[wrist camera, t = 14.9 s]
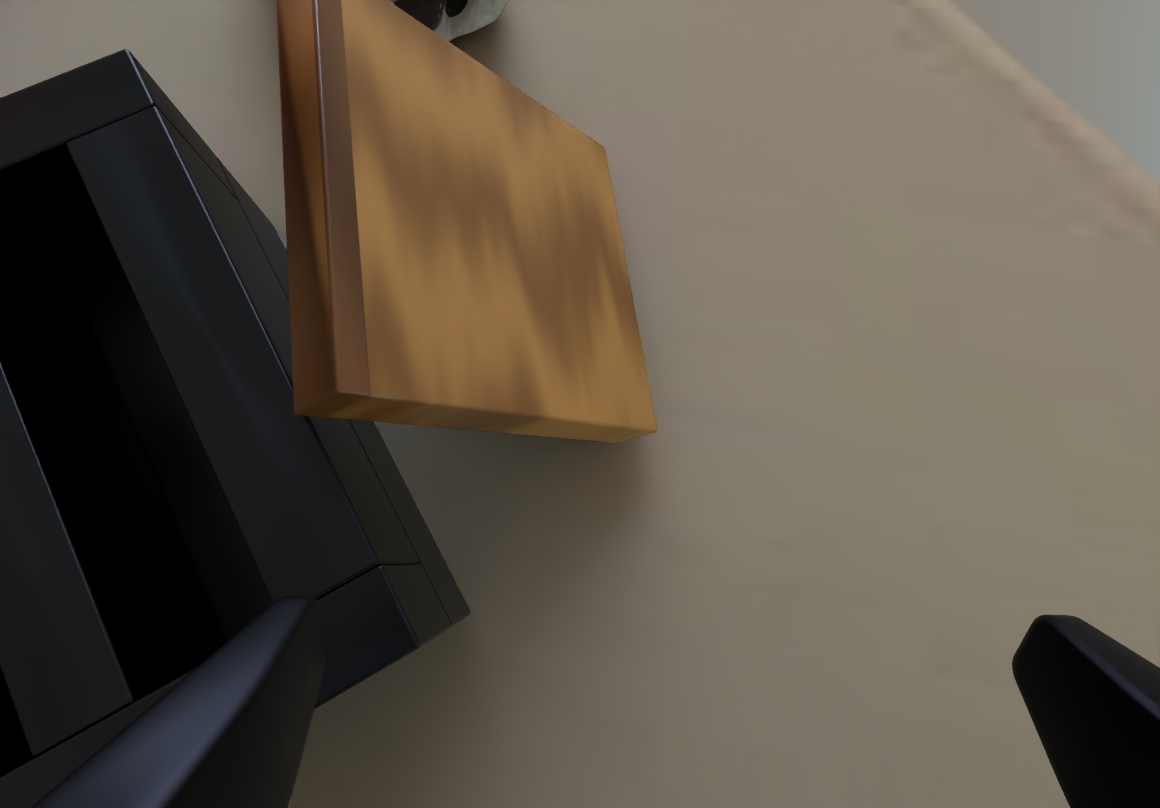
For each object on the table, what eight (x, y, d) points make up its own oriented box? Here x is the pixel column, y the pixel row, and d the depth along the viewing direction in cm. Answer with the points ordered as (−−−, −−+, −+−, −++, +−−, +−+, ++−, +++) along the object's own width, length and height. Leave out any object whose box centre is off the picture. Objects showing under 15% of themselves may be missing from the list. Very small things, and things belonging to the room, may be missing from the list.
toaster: (471, 612, 17) (421, 646, 10) (55, 856, 15) (-333, 1088, 9) (272, 224, 20) (126, 46, 13) (-108, 398, 18) (-512, 297, 11)
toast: (659, 431, 17) (339, 391, 10) (617, 444, 18) (293, 416, 11) (606, 146, 20) (311, -56, 12) (570, 169, 21) (274, -7, 13)
